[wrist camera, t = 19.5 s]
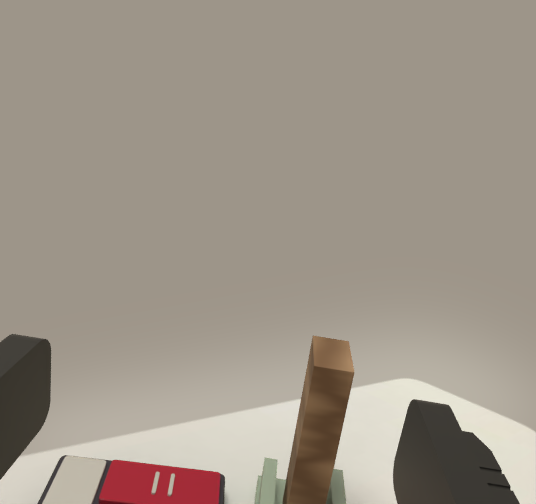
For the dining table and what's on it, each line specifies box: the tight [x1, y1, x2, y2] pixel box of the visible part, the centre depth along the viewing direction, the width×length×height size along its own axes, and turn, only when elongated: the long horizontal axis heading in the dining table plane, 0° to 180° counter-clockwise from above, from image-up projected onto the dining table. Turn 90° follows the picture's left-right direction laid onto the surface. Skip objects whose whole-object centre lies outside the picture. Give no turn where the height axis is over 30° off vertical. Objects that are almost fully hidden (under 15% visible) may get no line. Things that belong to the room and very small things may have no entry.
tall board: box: [282, 336, 354, 504], centre depth 42 cm, size 3×5×17 cm, turn 176°
